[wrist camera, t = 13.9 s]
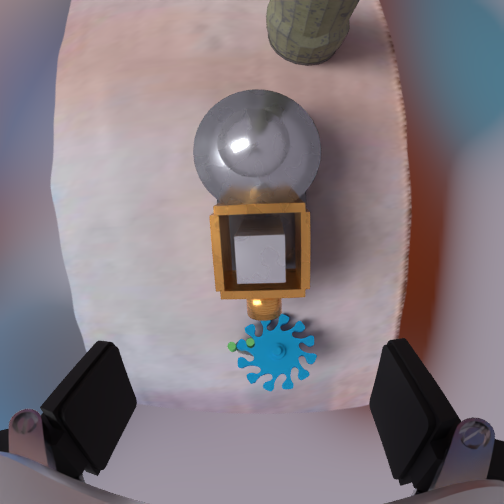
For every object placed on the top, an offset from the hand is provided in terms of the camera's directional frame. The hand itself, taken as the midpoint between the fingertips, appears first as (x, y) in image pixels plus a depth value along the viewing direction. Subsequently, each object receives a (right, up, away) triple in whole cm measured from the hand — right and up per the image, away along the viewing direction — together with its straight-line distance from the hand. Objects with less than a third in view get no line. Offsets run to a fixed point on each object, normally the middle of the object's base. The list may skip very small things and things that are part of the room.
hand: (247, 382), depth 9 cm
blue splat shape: (+3, -7, +29) cm, 30 cm away
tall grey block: (+1, +6, +24) cm, 25 cm away
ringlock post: (+1, +10, +24) cm, 26 cm away
